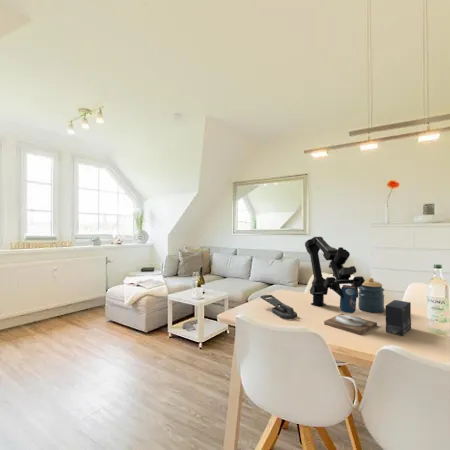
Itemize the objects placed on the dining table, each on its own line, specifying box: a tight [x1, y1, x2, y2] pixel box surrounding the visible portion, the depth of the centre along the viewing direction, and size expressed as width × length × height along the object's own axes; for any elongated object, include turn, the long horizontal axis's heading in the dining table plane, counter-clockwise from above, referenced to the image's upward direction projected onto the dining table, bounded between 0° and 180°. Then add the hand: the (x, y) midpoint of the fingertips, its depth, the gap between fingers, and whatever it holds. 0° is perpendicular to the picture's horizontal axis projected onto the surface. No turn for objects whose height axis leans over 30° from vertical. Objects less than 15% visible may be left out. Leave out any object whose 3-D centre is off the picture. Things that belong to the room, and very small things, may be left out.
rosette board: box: [323, 313, 378, 336], centre depth 131 cm, size 17×17×3 cm
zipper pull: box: [259, 294, 298, 321], centre depth 151 cm, size 9×7×25 cm
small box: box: [384, 299, 412, 337], centre depth 124 cm, size 13×7×12 cm, turn 133°
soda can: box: [339, 284, 358, 315], centre depth 131 cm, size 7×7×12 cm
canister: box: [357, 277, 385, 314], centre depth 154 cm, size 13×13×18 cm
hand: (350, 297), depth 130 cm, fingers closed on soda can, 6 cm apart
